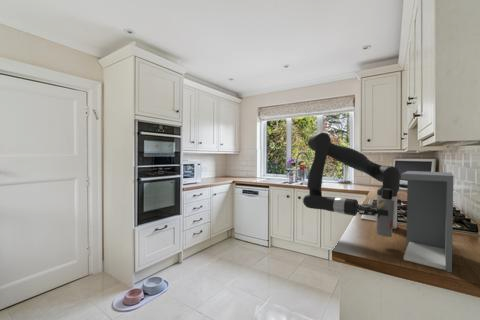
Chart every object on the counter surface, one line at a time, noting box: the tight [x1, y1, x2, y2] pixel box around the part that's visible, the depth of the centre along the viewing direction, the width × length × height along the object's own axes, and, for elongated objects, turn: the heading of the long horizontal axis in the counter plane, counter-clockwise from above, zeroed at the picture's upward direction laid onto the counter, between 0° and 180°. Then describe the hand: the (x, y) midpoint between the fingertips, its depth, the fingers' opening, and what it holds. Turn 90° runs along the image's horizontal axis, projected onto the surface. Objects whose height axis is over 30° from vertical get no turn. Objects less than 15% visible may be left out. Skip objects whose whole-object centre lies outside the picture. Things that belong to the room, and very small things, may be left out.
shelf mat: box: [403, 242, 446, 271], centre depth 87 cm, size 19×12×2 cm, turn 138°
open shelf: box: [400, 170, 455, 273], centre depth 88 cm, size 22×14×32 cm, turn 138°
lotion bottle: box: [375, 188, 394, 238], centre depth 98 cm, size 6×6×20 cm
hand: (388, 212), depth 96 cm, fingers closed on lotion bottle, 2 cm apart
